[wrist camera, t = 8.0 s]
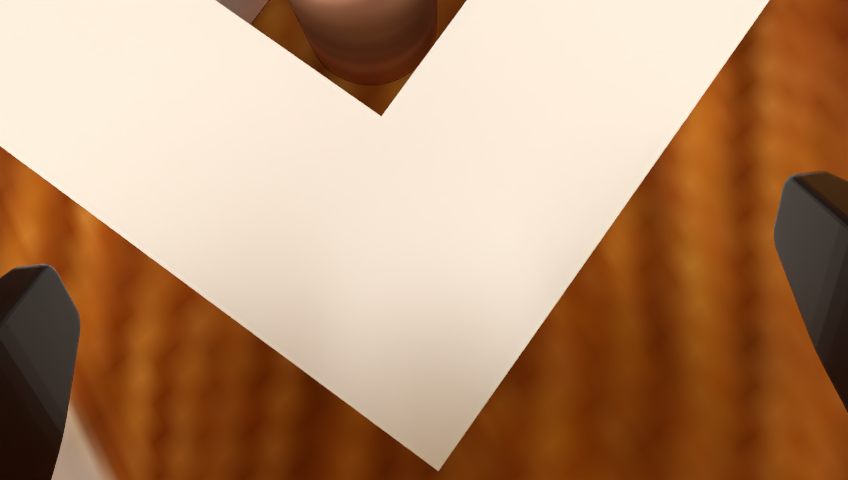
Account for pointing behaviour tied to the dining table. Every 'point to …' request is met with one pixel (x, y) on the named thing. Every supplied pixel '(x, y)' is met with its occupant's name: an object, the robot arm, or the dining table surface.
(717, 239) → the dining table surface
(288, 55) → the white flat square block
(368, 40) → the terracotta peg
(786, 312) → the dining table surface
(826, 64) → the dining table surface
